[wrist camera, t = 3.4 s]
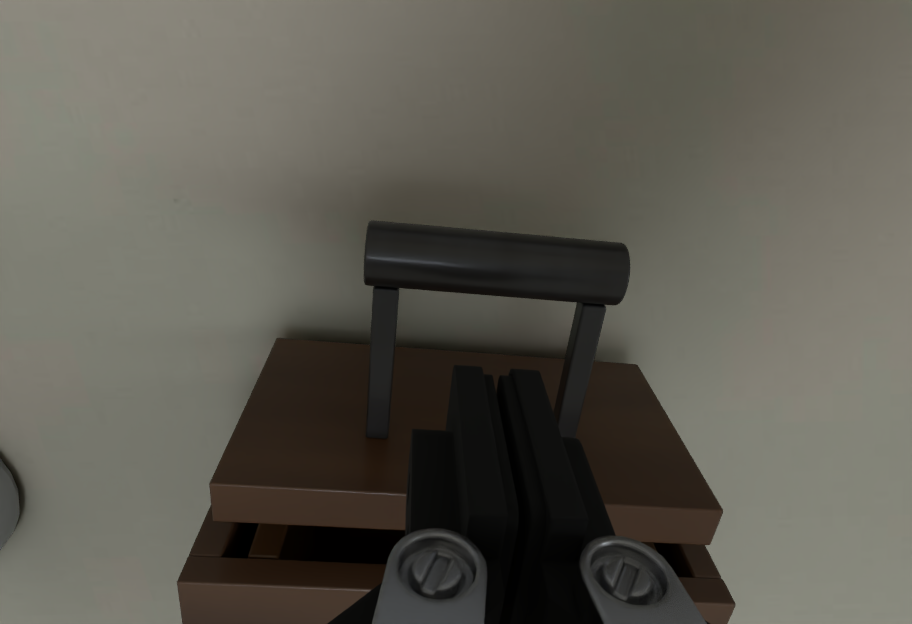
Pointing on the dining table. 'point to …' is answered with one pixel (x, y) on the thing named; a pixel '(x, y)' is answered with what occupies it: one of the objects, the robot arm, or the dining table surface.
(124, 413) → the dining table surface
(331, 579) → the cabinet
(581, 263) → the pull-out drawer box
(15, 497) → the cup
